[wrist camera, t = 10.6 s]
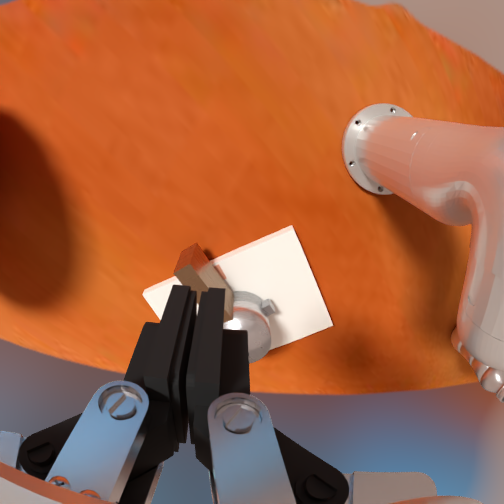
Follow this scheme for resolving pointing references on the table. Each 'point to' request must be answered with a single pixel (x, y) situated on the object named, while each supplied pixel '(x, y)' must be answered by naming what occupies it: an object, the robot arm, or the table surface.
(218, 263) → the base
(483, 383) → the plastic bottle
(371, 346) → the table surface
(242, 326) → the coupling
